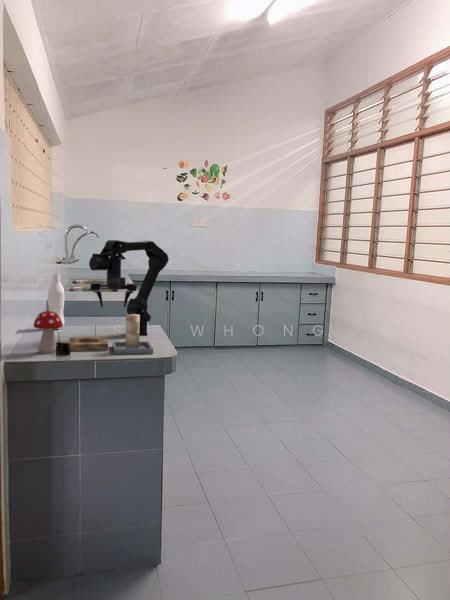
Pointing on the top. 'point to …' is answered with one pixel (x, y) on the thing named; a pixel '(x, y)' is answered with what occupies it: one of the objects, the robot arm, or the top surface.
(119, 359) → the top surface
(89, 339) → the holder
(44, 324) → the decorative mushroom
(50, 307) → the water bottle
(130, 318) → the dowel
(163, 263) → the robot arm
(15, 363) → the top surface
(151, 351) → the tray
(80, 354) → the top surface
